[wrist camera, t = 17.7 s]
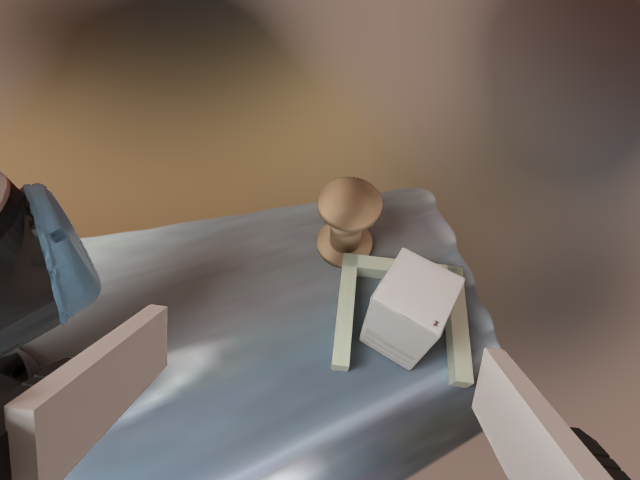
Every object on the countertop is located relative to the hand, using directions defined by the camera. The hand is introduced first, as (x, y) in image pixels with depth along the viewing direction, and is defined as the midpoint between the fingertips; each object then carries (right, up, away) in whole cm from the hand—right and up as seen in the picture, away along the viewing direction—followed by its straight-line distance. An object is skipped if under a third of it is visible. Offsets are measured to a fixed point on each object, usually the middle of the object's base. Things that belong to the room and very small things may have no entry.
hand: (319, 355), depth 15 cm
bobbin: (+4, +4, +38) cm, 39 cm away
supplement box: (+10, -7, +31) cm, 34 cm away
